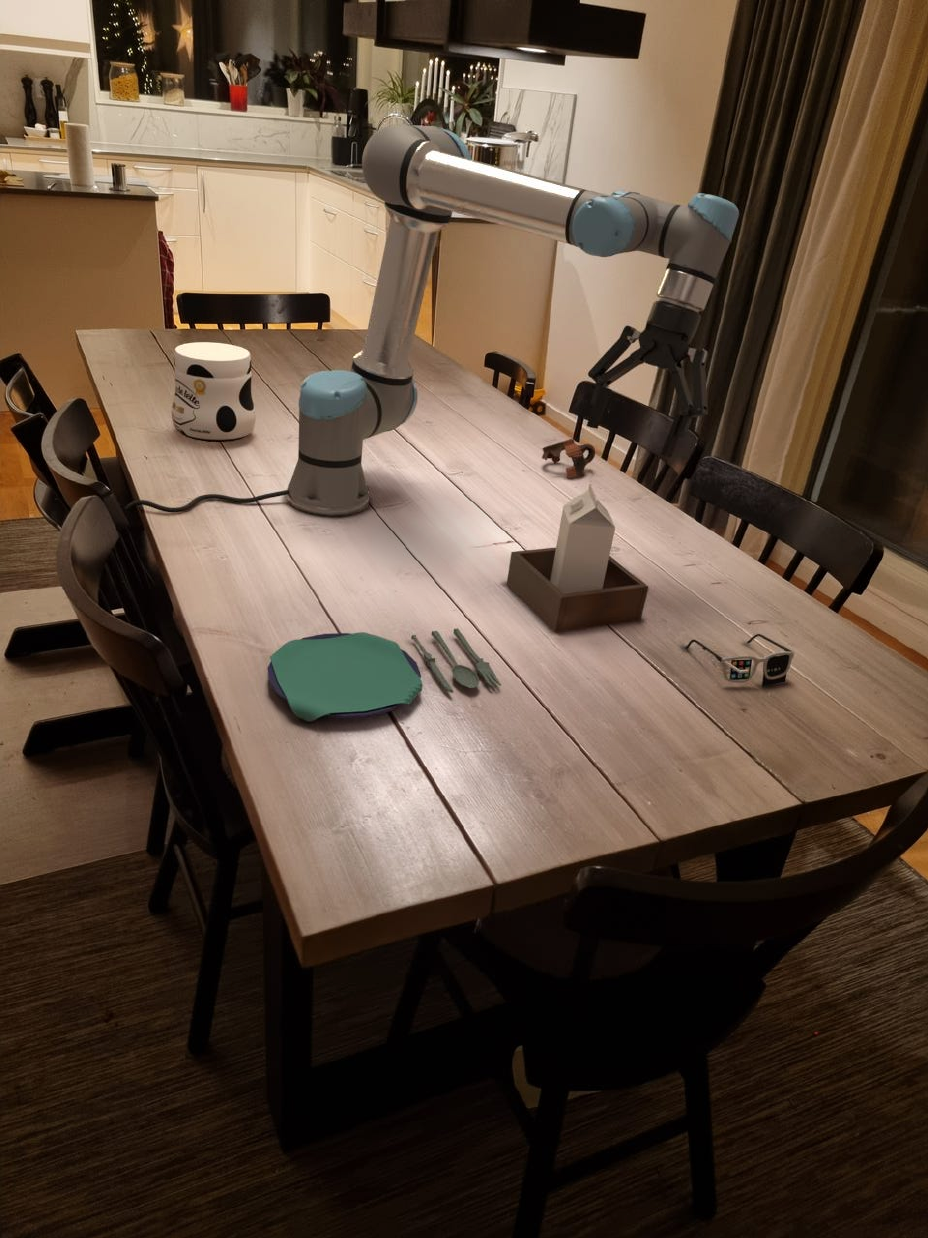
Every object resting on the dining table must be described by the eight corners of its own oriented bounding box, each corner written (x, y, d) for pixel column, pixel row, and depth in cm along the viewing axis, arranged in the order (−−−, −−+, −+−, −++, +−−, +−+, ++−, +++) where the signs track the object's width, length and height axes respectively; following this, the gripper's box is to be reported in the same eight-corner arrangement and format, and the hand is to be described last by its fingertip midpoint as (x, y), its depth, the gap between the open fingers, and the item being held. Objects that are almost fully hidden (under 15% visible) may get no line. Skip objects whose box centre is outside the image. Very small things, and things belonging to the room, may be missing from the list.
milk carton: (590, 593, 151) (612, 485, 142) (597, 614, 145) (620, 503, 136) (548, 589, 151) (567, 481, 141) (553, 610, 144) (573, 498, 135)
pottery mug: (558, 482, 197) (548, 445, 196) (542, 486, 206) (532, 450, 205) (607, 467, 200) (597, 430, 199) (588, 471, 209) (579, 436, 208)
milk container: (156, 439, 191) (152, 352, 182) (197, 417, 206) (194, 336, 197) (233, 454, 188) (232, 367, 180) (268, 431, 203) (269, 349, 195)
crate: (554, 632, 138) (561, 597, 135) (506, 584, 151) (511, 551, 148) (640, 619, 145) (648, 586, 142) (587, 575, 157) (594, 543, 154)
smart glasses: (734, 700, 126) (738, 667, 125) (680, 662, 139) (684, 632, 138) (807, 692, 130) (813, 660, 128) (748, 656, 143) (753, 626, 141)
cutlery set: (252, 653, 124) (252, 638, 123) (455, 630, 135) (457, 616, 134) (287, 739, 108) (287, 724, 107) (513, 705, 120) (516, 690, 119)
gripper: (762, 332, 135) (707, 469, 142) (618, 290, 147) (573, 418, 153) (747, 323, 129) (690, 466, 135) (598, 280, 141) (552, 414, 147)
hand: (628, 441), depth 144 cm, fingers open, 13 cm apart
